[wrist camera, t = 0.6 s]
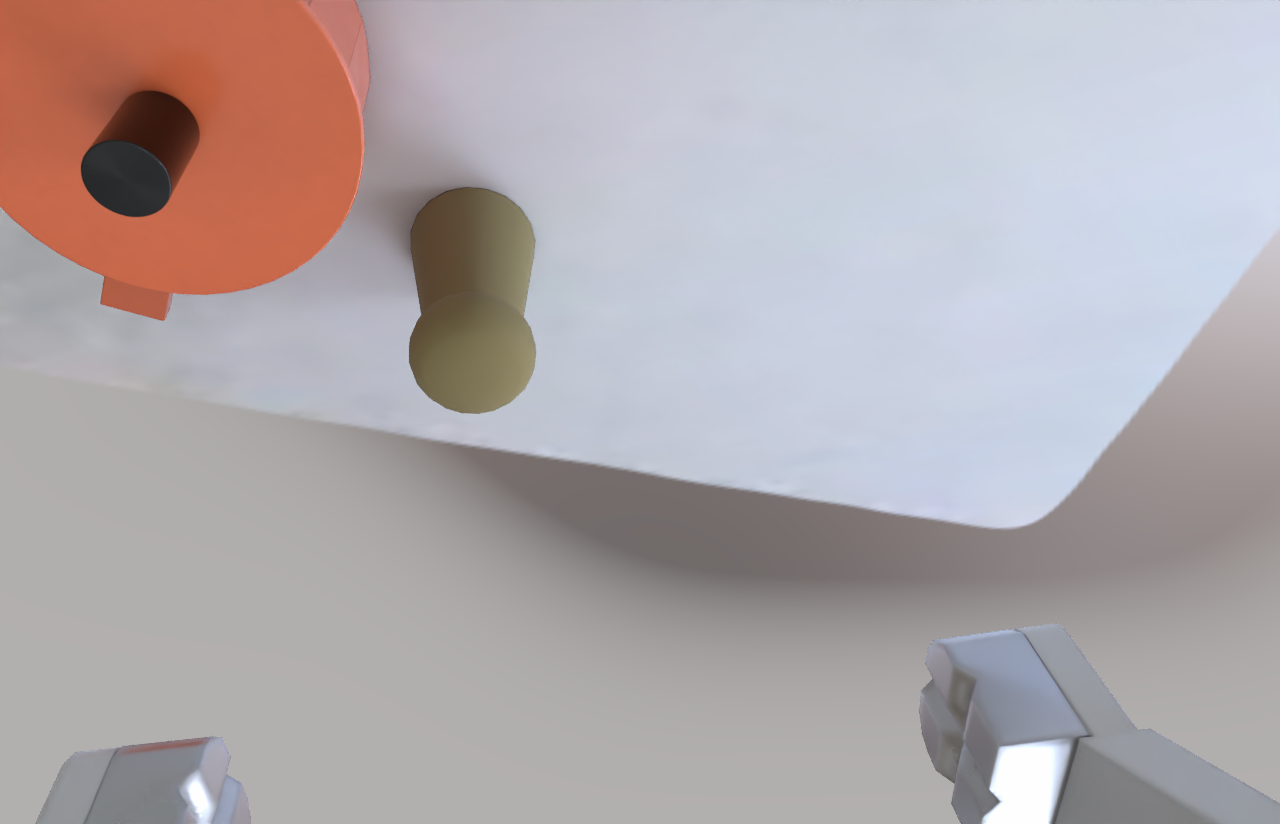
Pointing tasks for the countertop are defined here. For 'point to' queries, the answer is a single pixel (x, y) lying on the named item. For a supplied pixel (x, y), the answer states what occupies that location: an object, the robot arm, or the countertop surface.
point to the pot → (348, 32)
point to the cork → (472, 300)
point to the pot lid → (177, 137)
